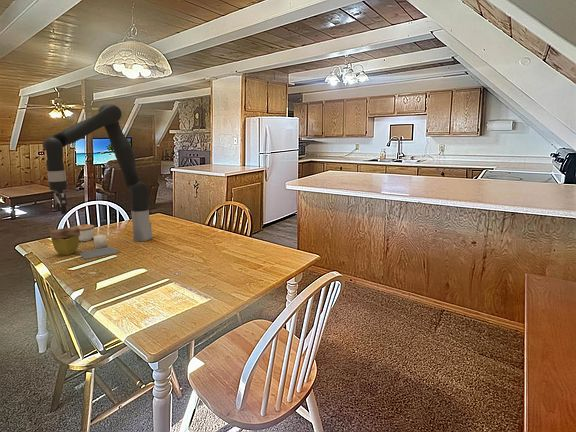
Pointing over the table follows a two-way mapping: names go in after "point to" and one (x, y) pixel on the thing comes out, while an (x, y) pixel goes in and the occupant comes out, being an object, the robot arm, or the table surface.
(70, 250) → the flower pot
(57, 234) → the lid
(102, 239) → the cream rounded block
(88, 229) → the lidded jar
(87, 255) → the mat
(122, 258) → the table surface
